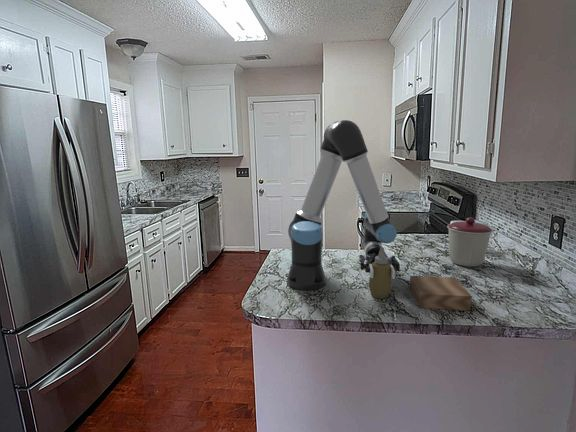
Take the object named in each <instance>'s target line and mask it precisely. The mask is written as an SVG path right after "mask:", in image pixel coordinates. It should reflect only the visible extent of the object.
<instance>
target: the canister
mask: <svg viewBox="0 0 576 432" xmlns="http://www.w3.org/2000/svg"><path fill="white" fill-rule="evenodd" d="M465 221H466V222H454V223H451V222H450V223H451V224H450V223H449V224H447V226H446V227H447V229H448V249H449V251H448V252H449V253H448V255H449V258H450V260H451V262H452V263H454V264H456V265H459V266H461V267H462V266H463V267H471V268H472V267H480V266H482V264H483V263H484V260H485V259H486V255H487V250H488V247H489V242H490V239H491V234H492V233H493V232H494V230H493V228H492V227H490V226H488V225H487V224H484V223H480V222H476V220H475V218H474V217H467V218H466V219H465Z"/></svg>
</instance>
